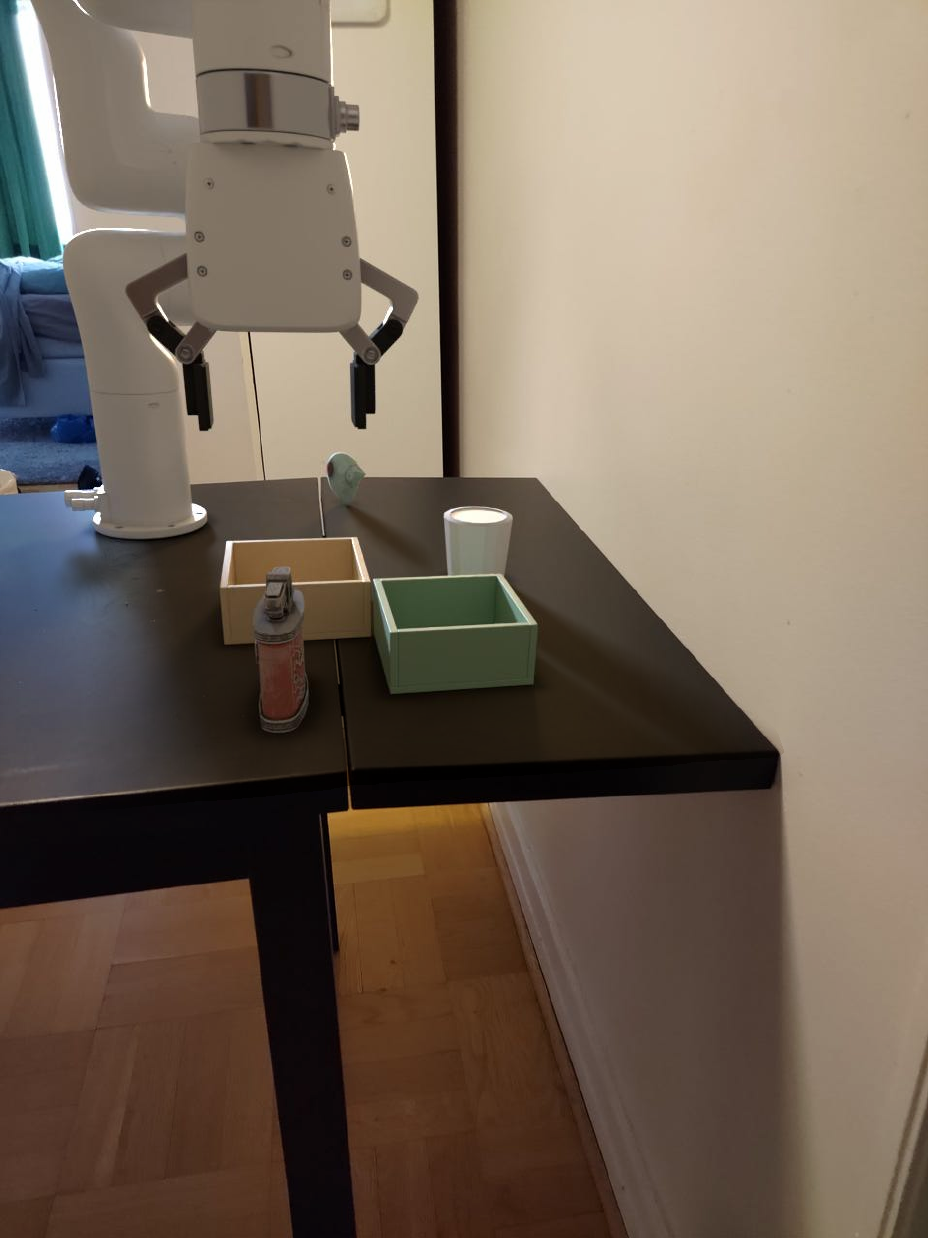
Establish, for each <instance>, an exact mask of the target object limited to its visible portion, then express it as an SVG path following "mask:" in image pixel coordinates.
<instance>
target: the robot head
mask: <svg viewBox="0 0 928 1238" xmlns="http://www.w3.org/2000/svg"><path fill="white" fill-rule="evenodd" d="M325 472H326V477H327V482H328V484H329V487H330V489H331V492H332V493H333V494H334V496H335V497H336V498H337V499H338V500H339V501H340V502H341V503H343V504H348V503H351V502H353V501H354V499H355V497H356V496H357V493H358V489H359V486H360V482H361V481H362V480H363V478H364V477H365V476H367V475H366V474H367V473H366V472H365V471H364V470H363V469H362V468H361V467H360V465H359V463H358V461H357V460H356V459H355V458H354V457H353V456H351V455H350V454H349V453H347V452H343V451H341V452H340V451H339V452H335V453H333V454H332V455H331V456H330V457H329V458H328V460H327V463H326V471H325Z"/></svg>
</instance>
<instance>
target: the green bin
mask: <svg viewBox="0 0 928 1238" xmlns="http://www.w3.org/2000/svg"><path fill="white" fill-rule="evenodd" d="M372 580H373V581H372V583H373V585H372V587H373V636H374V639H375V643H376V646H377V650H378V653H379V657H380V661H381V665H382V668H383V672H384V676H385V679H386V683H387V686H388V687H387V688H388V690H389V691H388V692H389V694H390V695H398V694H412V693H413V694H414V693H427V692H442V691H456V690H458V691H459V690H470V689H471V690H472V689H485V688H500V687H513V686H514V687H515V686H529V685H534V682H535V678H534V677H535V670H536V669H535V668H536V657H537V656H536V655H537V643H538V629H539V628H538V627H539V624H538V623H537V621H536V619H534V617H533V616H532V614H531V613H530V611H529V610H528V609H527V608H526V606H525V604H524V602H522V600H521V599H520V597H519V596H518V594H517V593H516V592H515V590H514V589H513V588H512V586H511V585H510V583H509V581H508V580H507V579H506V578H505V575H504V576H503V575H502V574H478V575H454V576H448V575H433V576H431V575H430V576H413V577H412V576H411V577H410V576H409V577H383V578H373V579H372Z"/></svg>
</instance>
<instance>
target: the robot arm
mask: <svg viewBox="0 0 928 1238" xmlns="http://www.w3.org/2000/svg"><path fill="white" fill-rule="evenodd" d="M29 1H30V3H31V6H32V8H33V11H34V12H35V15H36V17H37V19H38V22H39V24H40V26H41V30H42V33H43V35H44V37H45V38H44V39H45V41H46V45H47V48H48V54H49V58H50V62H51V70H52V78H53V85H54V93H55V100H56V101H55V102H56V108H57V116H58V123H59V131H60V138H61V145H62V154H63V159H64V165H65V170H66V174H67V175H66V176H67V180H68V183H69V186H70V189H71V192H72V194H74V197H75V199H76V200H77V202H79V203H80V204H81V205H82V206H84V207H86V208H88V209H90V210H93V211H96V212H101V213H107V214H114V215H125V216H126V215H129V216H146V217H164V218H165V217H166V218H167V217H168V218H177V219H181V220H182V221H183V222H184V223H185V231H171V230H170V231H167V230H152V229H137V228H135V229H134V228H96V229H95V228H93V229H89V230H86V231H82V232H80V233H77V234H75V235H74V236H73V237H71V238H70V239H69V240H68V241H67V243H66V245H65V246H64V249H63V253H62V268H63V276H64V280H65V281H64V282H65V284H66V288H67V292H68V294H69V299H70V301H71V305H72V308H73V313H74V315H75V319H76V323H77V326H78V327H77V328H78V330H79V336H80V340H81V345H82V350H83V355H84V362H85V368H86V373H87V382H88V383H87V384H88V388H89V395H90V396H89V397H90V403H91V404H90V405H91V410H92V416H93V425H94V432H95V433H94V434H95V439H96V446H97V453H98V454H97V455H98V462H99V468H100V475H101V482H102V485H101V486H100V487H94V488H93V491H92V490H91V491H89V490H88V491H83V490H65V491H64V494H63V499H64V505H65V508H69V509H70V508H71V510H72V511H73V512H85V511H94V512H95V515H94V516H93V517H92V524H93V529H94V530H95V531H96V532H97V533H99V534H101V535H103V536H107V537H109V538H117V539H125V540H154V539H155V540H156V539H163V538H164V539H165V538H171V537H176V536H177V537H178V536H180V535H185V534H189V533H192V532H194V531H197V530H199V529H201V528H202V527H204V525H206V524H207V522H208V514H207V512H208V511H207V510H206V509H205V508H204V507H202V506H201V505H198V504H196V503H193V498H192V491H191V489H192V488H191V480H190V479H191V478H190V468H189V467H190V466H189V457H188V446H187V437H186V428H185V427H186V426H185V417H184V416H185V415H184V405H183V396H182V383H181V376H180V371H179V368H178V365H177V363H176V361H175V359H174V358H173V356H174V357H175V358H176V360H177V361H178V362H179V363H181V367H182V375H183V376H182V377H183V378H182V379H183V386H184V387H183V389H184V397H185V407H186V414H187V416H197V421H198V430H199V431H198V432H209V430H212V429H213V425H214V423H215V422H214V421H215V420H214V419H215V418H214V408H213V397H212V384H211V372H210V362H209V361H206V359H205V351H204V349H205V347H206V346H207V345H208V344H209V342H210V341H211V339H212V338H213V336H214V335H215V334H216V333H217V331H219V332H232V333H234V332H235V333H293V334H295V333H298V334H299V333H302V334H304V333H305V334H309V333H310V334H323V333H324V334H325V333H326V334H329V333H331V334H332V333H339V334H340V335H341V337H342V338H343V339H344V340H345V341H346V343H347V344H348V345H349V347H351V349H352V350H353V359H352V362H349V384H350V385H349V386H350V390H349V391H350V392H349V393H350V419H351V423H352V425H353V426H354V428H356V429H357V430H367V415H376V412H377V405H376V404H377V402H376V401H377V398H376V393H377V392H376V364H378V363H379V362H380V360H381V358H382V357H383V356H384V355H385V354H386V353H387V352H388V351H389V349H391V348H392V346H393V345H394V344H395V343H397V341H398V340H399V339H400V338H401V337H402V336H403V333H404V329H405V328H406V326H407V324H408V322H409V320H410V318H411V316H412V314H413V311H414V310H415V308H416V306H417V304H418V301H419V297H420V296H419V293H418V291H417V290H416V289H414V288H412V287H411V286H410V285H407V284H406V283H405V282H402V281H400V280H399V279H397V278H396V277H394V276H392V275H390V274H389V273H387V272H385V270H384V271H383V270H382V269H380V268H379V267H377V266H376V265H373V264H372V263H370V262H368V261H366V260H365V259H363V258H362V257H360V256H361V255H360V243H359V231H358V221H357V214H356V213H357V212H356V207H355V200H354V192H353V183H352V178H351V172H350V166H349V163H348V158H347V154H346V153H345V152H344V151H342V150H337V149H336V144H335V141H336V138H339V137H340V135H341V134H346V133H347V132H348V131H349V132H359V131H360V106H359V104H349V103H347V102H346V101H344V100H340V96H339V95H335V86H334V80H333V79H334V78H333V77H334V75H333V45H332V44H333V42H332V7H331V6H332V5H331V0H29ZM134 32H140V33H141V32H142V33H148V34H155V35H156V34H157V35H163V36H168V37H175V38H176V37H177V38H183V39H189V40H192V52H193V62H194V74H195V76H194V77H195V90H196V92H195V93H196V103H197V115H198V117H195V116H193V115H186V114H178V113H177V114H176V113H169V112H159V111H155V110H154V108H152V106H151V105H152V104H151V102H150V97H149V95H150V94H149V86H148V74H147V73H148V71H147V61H146V55H145V53H144V50H143V48H142V46H141V44H140V42H139V40H138V38H137V37H136V35H135V34H134ZM362 284H363V285H364V286H365V287H368V288H370V289H371V290H373V291H375V292H376V293H378V294H380V295H381V296H384V297H385V298H386V299H387V300H388V302H389V304H390V305H389V309H388V311H387V314H386V316H385V317H384V320H383V321H382V322H381V323H380V324H378V326H377V327H376V328H375V329H374V330H373V331H372V333H370V334H369V335H368V334H367V333H366V332H365V330H364V329H363V328H362V326H361V325H360V324H359V322H360V321H361V320H360V319H361V317H362V300H363V299H362ZM179 327H191V328H190V329H189V330H188V331H187V333H185V332H183V331H182V330H181V329H180V328H179ZM166 349H167V350H166ZM170 353H171V354H170ZM172 355H173V356H172Z"/></svg>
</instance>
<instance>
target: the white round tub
mask: <svg viewBox="0 0 928 1238" xmlns="http://www.w3.org/2000/svg"><path fill="white" fill-rule="evenodd" d="M513 520H514V519H513V515H512V514H511V513H510V512H508V511H505V510H503V509H499V508H494V507H488V506H460V507H455V508H450V509H449V510H447V511H445V512H444V513H443V521H444V522H443V524H444V539H445V552H446V553H445V554H446V569H447V576H454V575H478V574H502V575H503V576H504V577H505V573H506V567H507V561H508V559H507V558H508V554H509V546H510V542H511V541H510V540H511V533H512V527H513Z"/></svg>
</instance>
